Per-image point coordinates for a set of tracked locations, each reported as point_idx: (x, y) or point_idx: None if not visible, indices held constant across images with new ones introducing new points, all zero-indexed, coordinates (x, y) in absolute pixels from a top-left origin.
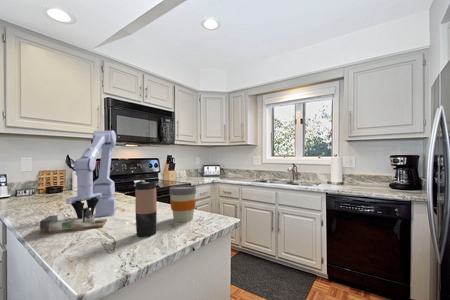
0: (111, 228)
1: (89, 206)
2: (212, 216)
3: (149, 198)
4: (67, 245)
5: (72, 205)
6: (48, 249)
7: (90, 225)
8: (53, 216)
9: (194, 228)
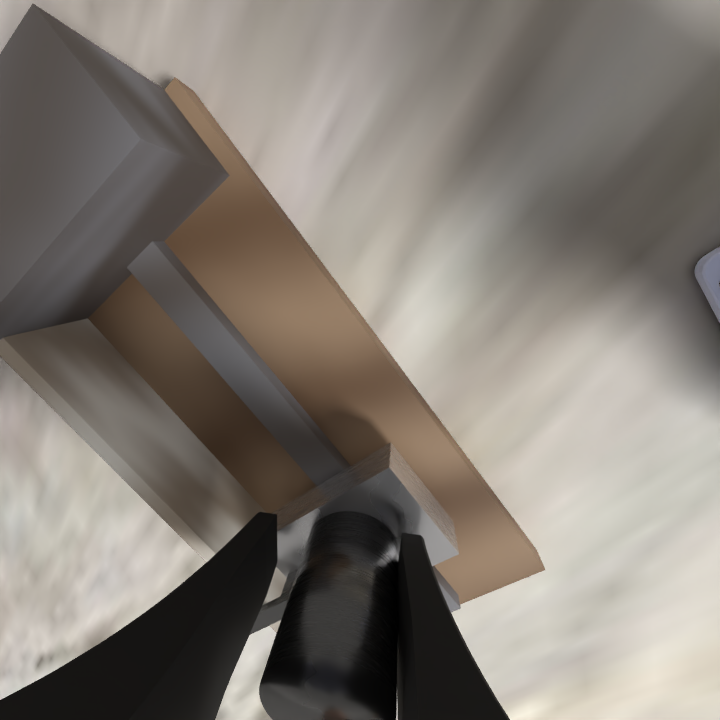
0: None
1: (407, 697)
2: None
3: None
4: (80, 632)
5: (26, 709)
6: (6, 587)
7: None
8: (64, 163)
9: None
